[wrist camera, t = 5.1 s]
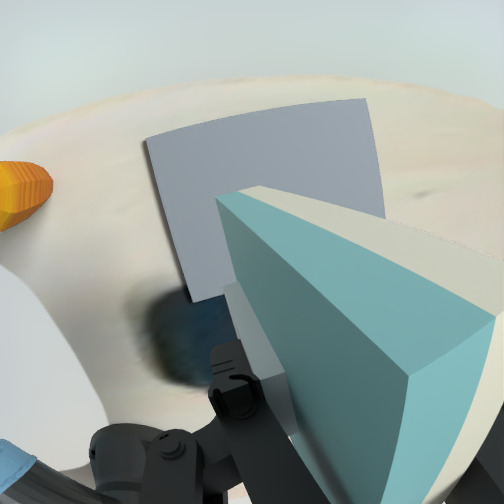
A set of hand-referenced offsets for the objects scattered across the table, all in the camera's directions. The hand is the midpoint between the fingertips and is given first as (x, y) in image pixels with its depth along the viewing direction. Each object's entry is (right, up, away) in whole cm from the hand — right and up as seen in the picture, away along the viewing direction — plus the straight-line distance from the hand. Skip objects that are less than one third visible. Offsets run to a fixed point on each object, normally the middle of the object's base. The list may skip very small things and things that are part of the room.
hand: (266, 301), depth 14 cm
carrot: (-20, +9, +10) cm, 24 cm away
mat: (+2, +8, +15) cm, 17 cm away
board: (0, 0, +1) cm, 1 cm away
